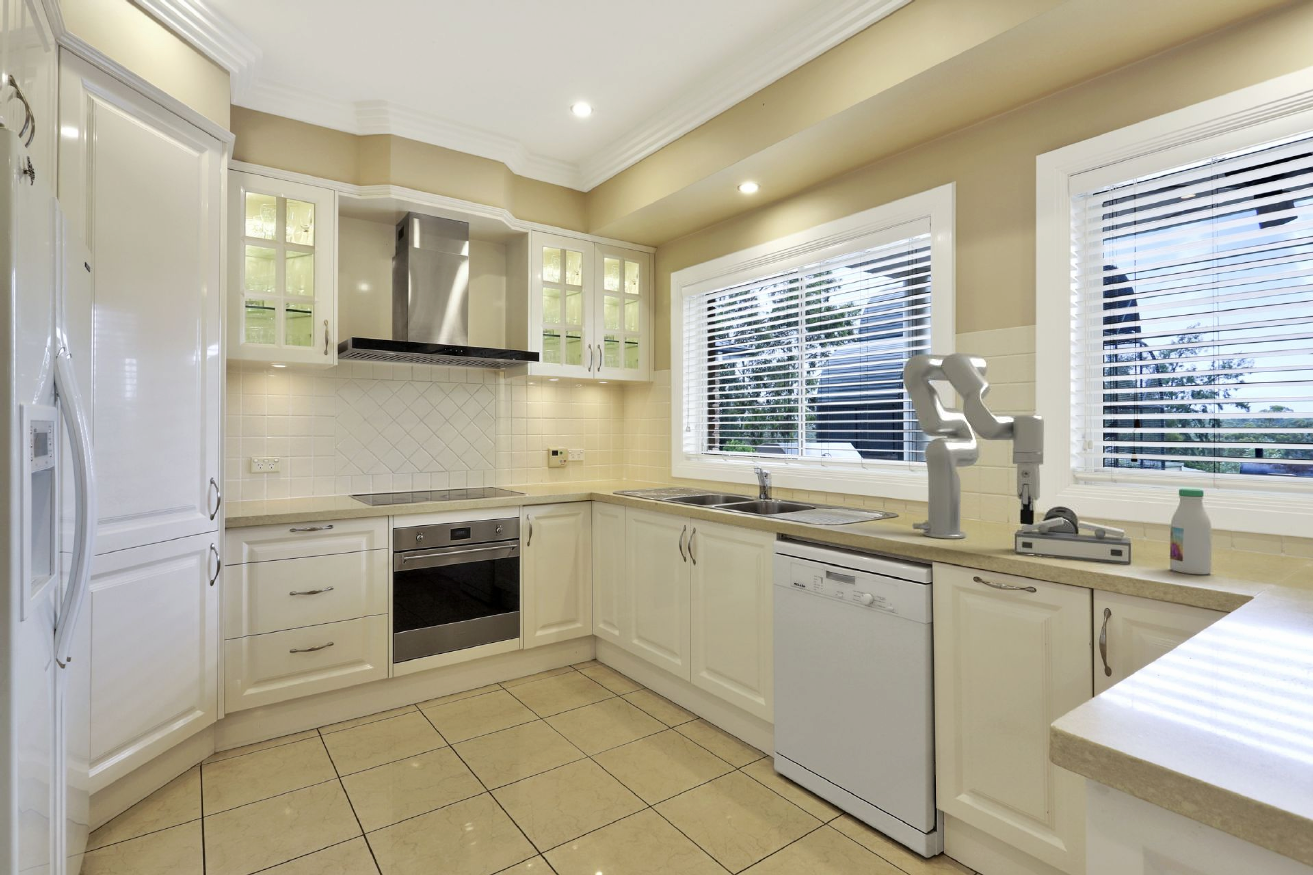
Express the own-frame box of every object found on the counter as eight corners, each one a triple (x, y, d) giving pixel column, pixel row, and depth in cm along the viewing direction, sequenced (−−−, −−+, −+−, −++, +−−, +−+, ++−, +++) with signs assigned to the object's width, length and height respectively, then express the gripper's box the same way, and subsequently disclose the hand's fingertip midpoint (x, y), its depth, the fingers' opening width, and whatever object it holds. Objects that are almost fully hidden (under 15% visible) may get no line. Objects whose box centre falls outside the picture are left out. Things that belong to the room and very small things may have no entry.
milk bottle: (1212, 571, 158) (1213, 489, 158) (1210, 576, 152) (1211, 491, 152) (1171, 566, 163) (1172, 487, 163) (1168, 571, 158) (1169, 489, 157)
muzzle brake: (1078, 539, 205) (1078, 506, 204) (1078, 553, 181) (1078, 516, 181) (1043, 536, 210) (1043, 504, 210) (1038, 550, 186) (1039, 514, 186)
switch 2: (1076, 532, 175) (1079, 522, 175) (1077, 530, 179) (1079, 520, 179) (1121, 542, 169) (1124, 532, 169) (1121, 539, 173) (1123, 529, 173)
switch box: (1014, 553, 180) (1014, 534, 180) (1018, 548, 188) (1018, 529, 188) (1130, 564, 166) (1130, 543, 166) (1129, 558, 173) (1129, 538, 173)
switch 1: (1024, 537, 182) (1021, 527, 182) (1026, 534, 186) (1022, 525, 186) (1064, 529, 176) (1061, 519, 177) (1065, 526, 181) (1062, 517, 181)
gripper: (1040, 460, 175) (1039, 528, 175) (1045, 458, 187) (1044, 521, 187) (1009, 459, 179) (1008, 526, 179) (1015, 457, 191) (1014, 519, 192)
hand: (1026, 523), depth 183 cm, fingers closed
